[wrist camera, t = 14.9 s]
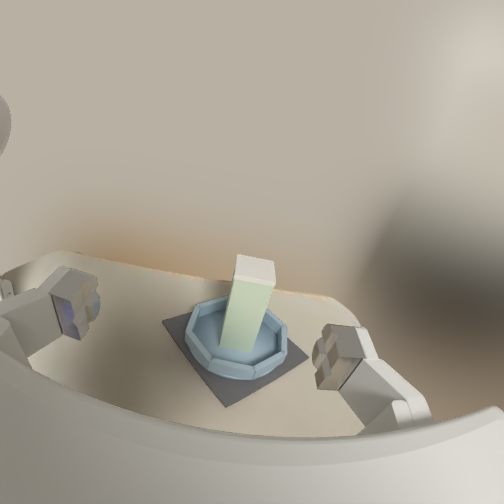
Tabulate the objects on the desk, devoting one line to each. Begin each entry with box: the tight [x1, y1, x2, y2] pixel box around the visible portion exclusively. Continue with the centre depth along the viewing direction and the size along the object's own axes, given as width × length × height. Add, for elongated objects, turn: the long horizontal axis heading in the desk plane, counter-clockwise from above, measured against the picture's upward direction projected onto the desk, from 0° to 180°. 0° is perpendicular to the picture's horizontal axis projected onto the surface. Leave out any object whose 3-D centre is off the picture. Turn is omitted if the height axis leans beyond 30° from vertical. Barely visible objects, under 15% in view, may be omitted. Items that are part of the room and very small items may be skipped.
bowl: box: [185, 296, 287, 381], centre depth 46 cm, size 17×17×3 cm
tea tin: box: [219, 254, 276, 353], centre depth 43 cm, size 6×6×15 cm
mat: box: [162, 312, 309, 408], centre depth 47 cm, size 20×19×1 cm
